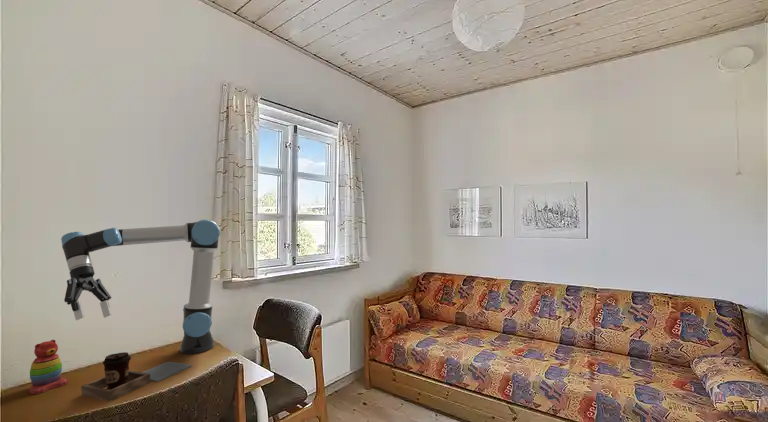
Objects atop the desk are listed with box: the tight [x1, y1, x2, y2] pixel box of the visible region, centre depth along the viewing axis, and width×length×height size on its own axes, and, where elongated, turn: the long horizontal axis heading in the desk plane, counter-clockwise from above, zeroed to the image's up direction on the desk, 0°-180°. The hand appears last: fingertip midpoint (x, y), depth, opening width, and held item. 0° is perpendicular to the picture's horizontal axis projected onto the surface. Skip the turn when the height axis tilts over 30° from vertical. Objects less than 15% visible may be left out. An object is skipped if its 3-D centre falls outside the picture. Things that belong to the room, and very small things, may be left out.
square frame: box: [80, 369, 151, 402], centre depth 139 cm, size 15×15×4 cm
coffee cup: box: [102, 351, 132, 390], centre depth 140 cm, size 9×8×13 cm
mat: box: [142, 361, 192, 383], centre depth 154 cm, size 16×14×1 cm
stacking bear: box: [29, 339, 69, 395], centre depth 143 cm, size 11×10×18 cm
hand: (94, 317), depth 144 cm, fingers open, 13 cm apart
